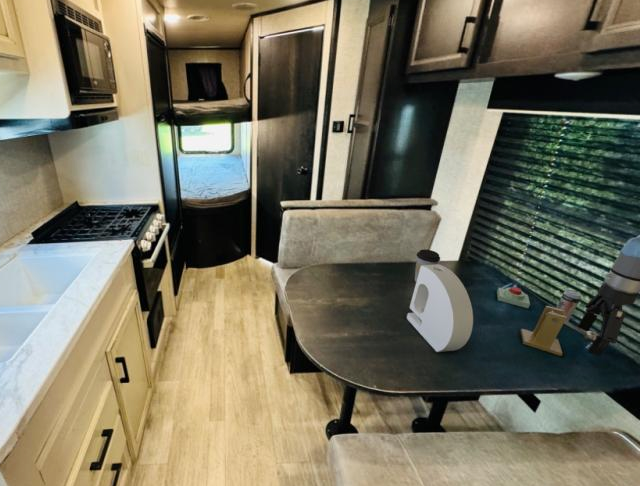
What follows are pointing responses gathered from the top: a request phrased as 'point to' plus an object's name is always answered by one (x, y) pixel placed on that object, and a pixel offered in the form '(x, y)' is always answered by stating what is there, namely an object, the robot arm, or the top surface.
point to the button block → (513, 297)
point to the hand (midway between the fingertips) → (587, 341)
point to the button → (515, 290)
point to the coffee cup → (426, 260)
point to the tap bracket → (546, 331)
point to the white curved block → (441, 308)
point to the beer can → (569, 303)
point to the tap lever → (580, 330)
